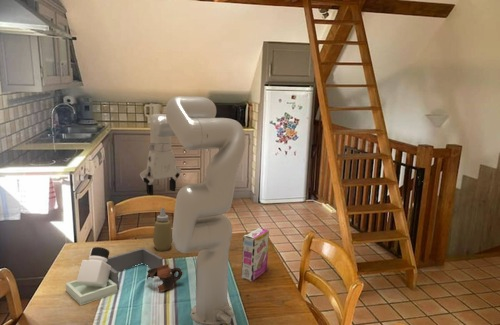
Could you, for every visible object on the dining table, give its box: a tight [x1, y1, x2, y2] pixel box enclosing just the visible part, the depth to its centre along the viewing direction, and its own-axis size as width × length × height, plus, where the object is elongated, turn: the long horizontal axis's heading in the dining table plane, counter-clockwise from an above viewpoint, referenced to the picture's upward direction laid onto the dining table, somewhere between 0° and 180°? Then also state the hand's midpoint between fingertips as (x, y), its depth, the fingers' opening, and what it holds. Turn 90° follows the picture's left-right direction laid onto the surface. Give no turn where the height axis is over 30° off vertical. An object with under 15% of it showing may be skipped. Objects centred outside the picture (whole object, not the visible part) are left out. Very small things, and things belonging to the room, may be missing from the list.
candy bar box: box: [241, 227, 270, 282], centre depth 145 cm, size 11×5×16 cm, turn 149°
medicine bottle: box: [76, 246, 111, 287], centre depth 132 cm, size 7×7×12 cm
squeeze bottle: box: [152, 206, 173, 252], centre depth 166 cm, size 8×8×18 cm
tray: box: [65, 278, 118, 306], centre depth 130 cm, size 12×12×3 cm
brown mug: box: [146, 264, 184, 293], centre depth 136 cm, size 12×9×8 cm
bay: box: [106, 247, 164, 290], centre depth 143 cm, size 13×18×6 cm
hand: (161, 192), depth 149 cm, fingers open, 9 cm apart
